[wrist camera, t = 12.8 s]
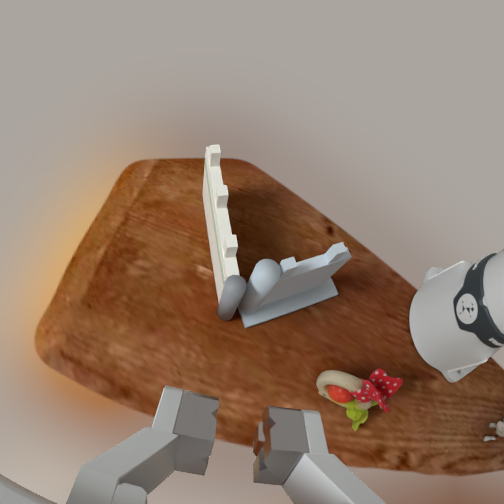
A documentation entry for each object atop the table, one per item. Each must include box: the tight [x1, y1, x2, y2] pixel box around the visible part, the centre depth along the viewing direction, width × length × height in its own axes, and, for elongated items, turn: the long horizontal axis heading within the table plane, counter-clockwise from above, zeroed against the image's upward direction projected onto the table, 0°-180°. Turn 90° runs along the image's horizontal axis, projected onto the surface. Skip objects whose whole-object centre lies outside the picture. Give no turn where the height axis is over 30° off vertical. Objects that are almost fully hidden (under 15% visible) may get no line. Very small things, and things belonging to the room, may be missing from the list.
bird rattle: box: [316, 369, 403, 431], centre depth 32 cm, size 6×11×9 cm
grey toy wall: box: [238, 242, 351, 328], centre depth 36 cm, size 13×5×12 cm, turn 111°
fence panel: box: [203, 145, 247, 321], centre depth 36 cm, size 18×2×12 cm, turn 11°
